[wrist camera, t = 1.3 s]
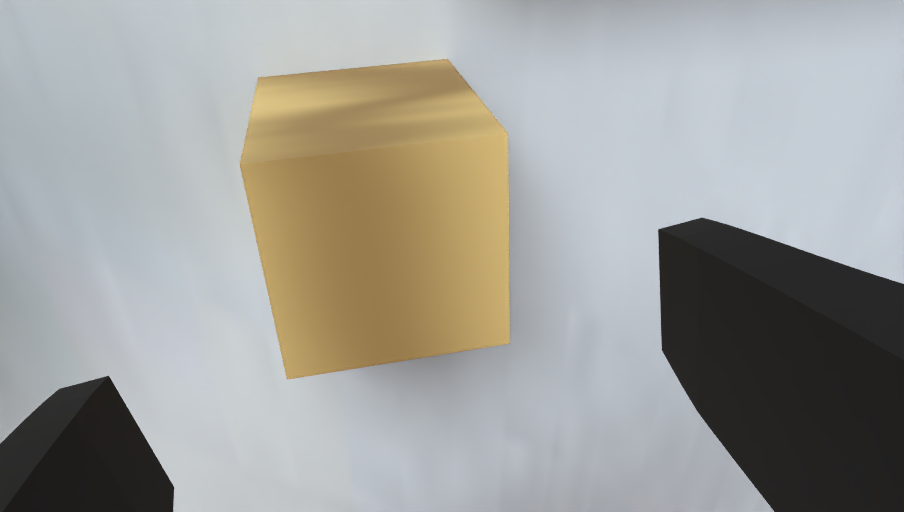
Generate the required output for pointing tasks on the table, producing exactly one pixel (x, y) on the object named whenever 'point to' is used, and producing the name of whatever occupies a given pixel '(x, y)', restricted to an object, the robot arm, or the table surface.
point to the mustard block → (379, 215)
